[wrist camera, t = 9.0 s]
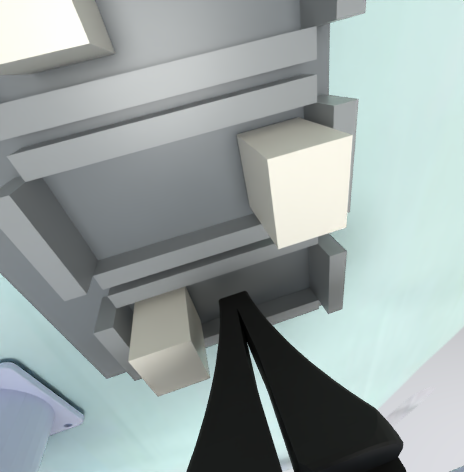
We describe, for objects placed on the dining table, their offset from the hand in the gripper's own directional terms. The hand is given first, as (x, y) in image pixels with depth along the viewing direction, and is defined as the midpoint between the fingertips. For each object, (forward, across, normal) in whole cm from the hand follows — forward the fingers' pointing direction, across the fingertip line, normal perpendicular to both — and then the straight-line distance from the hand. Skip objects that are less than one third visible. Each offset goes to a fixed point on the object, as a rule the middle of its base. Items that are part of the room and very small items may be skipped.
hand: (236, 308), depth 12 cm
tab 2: (+1, -3, -6) cm, 7 cm away
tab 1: (+1, +3, 0) cm, 3 cm away
